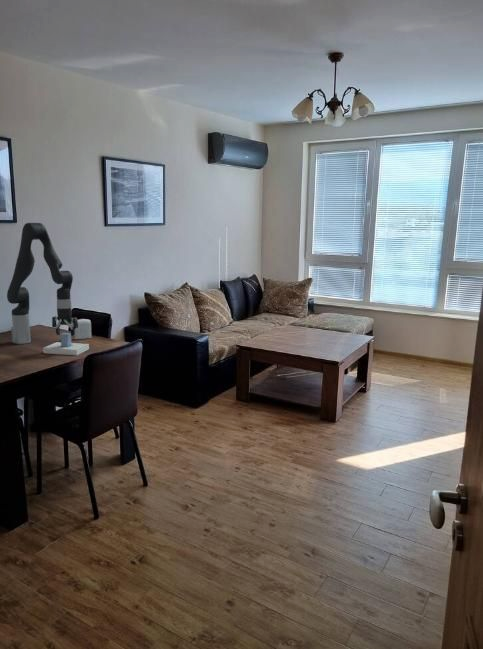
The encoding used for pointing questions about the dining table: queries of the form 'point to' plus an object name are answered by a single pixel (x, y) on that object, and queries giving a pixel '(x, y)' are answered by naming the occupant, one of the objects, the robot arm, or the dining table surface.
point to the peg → (66, 340)
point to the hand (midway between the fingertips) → (65, 335)
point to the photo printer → (83, 329)
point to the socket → (66, 349)
